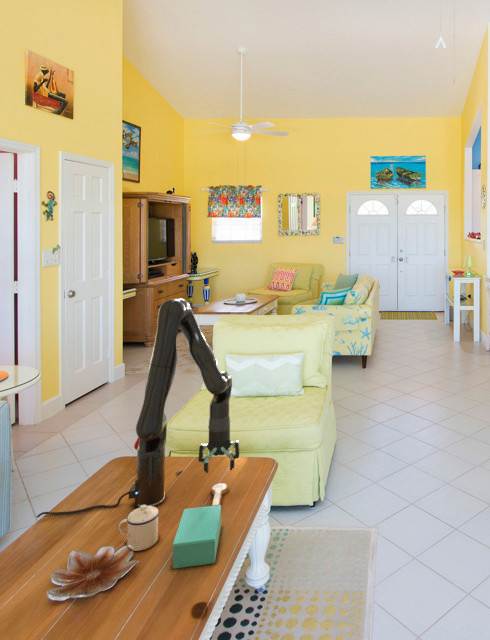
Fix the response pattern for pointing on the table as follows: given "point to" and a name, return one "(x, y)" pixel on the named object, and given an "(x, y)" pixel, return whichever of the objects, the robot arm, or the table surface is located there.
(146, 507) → the teacup with lid
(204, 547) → the box
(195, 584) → the table surface
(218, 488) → the spoon
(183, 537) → the lunchbox lid
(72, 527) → the table surface
